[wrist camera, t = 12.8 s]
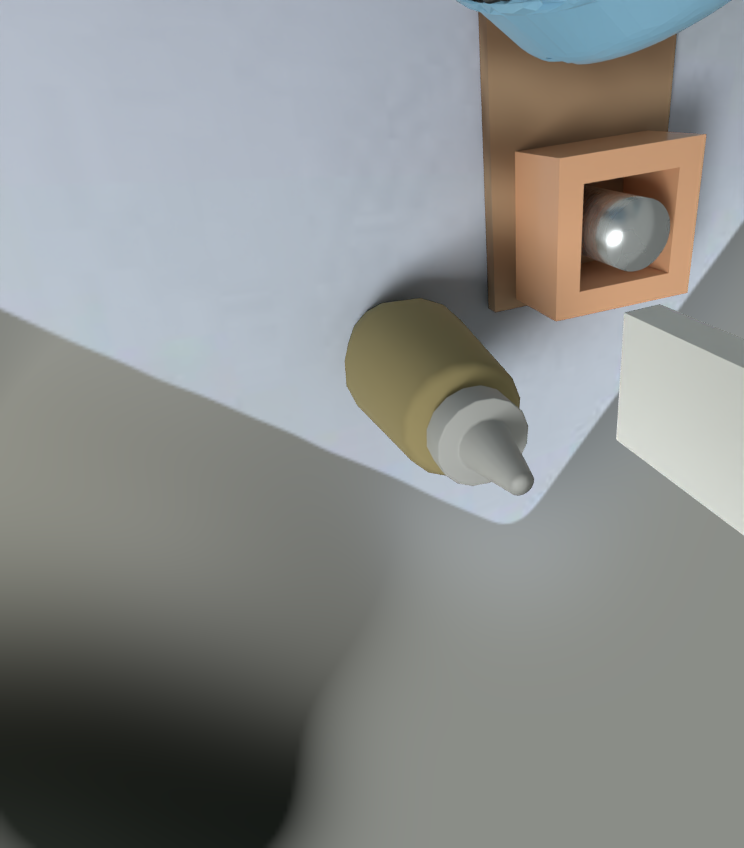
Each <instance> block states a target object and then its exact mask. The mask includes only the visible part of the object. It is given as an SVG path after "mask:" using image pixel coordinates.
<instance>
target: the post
mask: <svg viewBox="0 0 744 848" xmlns="http://www.w3.org/2000/svg"><path fill="white" fill-rule="evenodd" d="M669 233H670V218H669V214H668V212H667V210H666V208H665V207H664V205H663V204H662V203H661V202H659V201H657V200H655V199H652V198H647V197H642V196H637V195H632V194H627V193H622V192H618V191H613V190H608V189H603V188H598V187H593V186H588V185H584V194H583V219H582V244H581V255H583V256H586V257H589V258H591V259H594V260H597V261H599V262H602V263H605V264H607V265H610V266H613V267H615V268H618V269H621V270H624V271H628V272H633V271H638V270H641V269H643V268H645V267H647V266H649V265H650V264H651V263H653V262H654V261H655V260H656V259H657V258H658V256H659V255H660V254H661V252H662V251H663V249H664V247H665V245H666V243H667V240H668V237H669Z"/></svg>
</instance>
